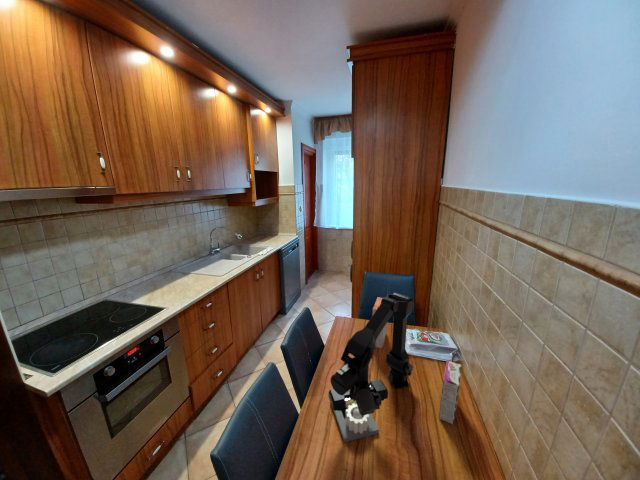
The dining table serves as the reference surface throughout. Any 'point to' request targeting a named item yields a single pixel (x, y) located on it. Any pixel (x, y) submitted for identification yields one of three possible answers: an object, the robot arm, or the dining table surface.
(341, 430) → the carrier board
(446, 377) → the candy bar box
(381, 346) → the cracker box
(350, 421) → the planet gear
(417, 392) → the dining table surface
